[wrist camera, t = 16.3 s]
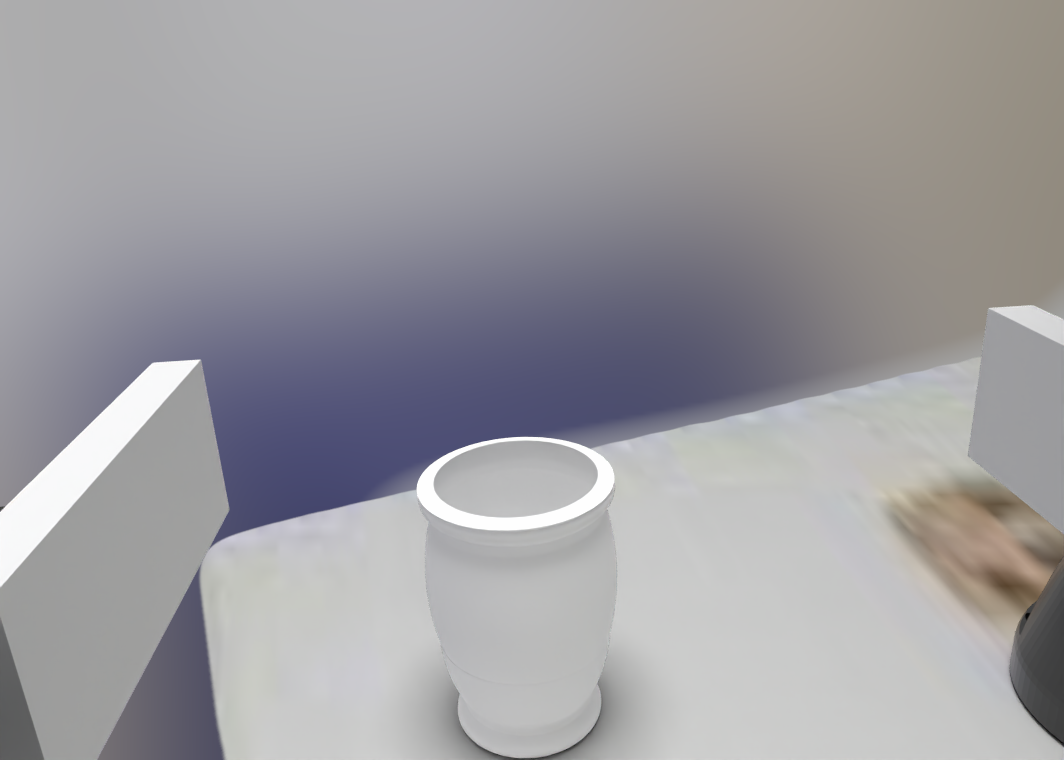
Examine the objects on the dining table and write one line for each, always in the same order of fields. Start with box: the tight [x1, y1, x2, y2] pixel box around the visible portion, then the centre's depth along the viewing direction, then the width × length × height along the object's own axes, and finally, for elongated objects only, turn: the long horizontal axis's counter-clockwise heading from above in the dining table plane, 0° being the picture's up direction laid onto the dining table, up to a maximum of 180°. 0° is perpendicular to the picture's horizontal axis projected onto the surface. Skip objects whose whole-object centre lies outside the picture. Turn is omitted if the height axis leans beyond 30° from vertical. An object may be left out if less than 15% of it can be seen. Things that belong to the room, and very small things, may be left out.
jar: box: [417, 437, 617, 758], centre depth 49 cm, size 11×10×15 cm
